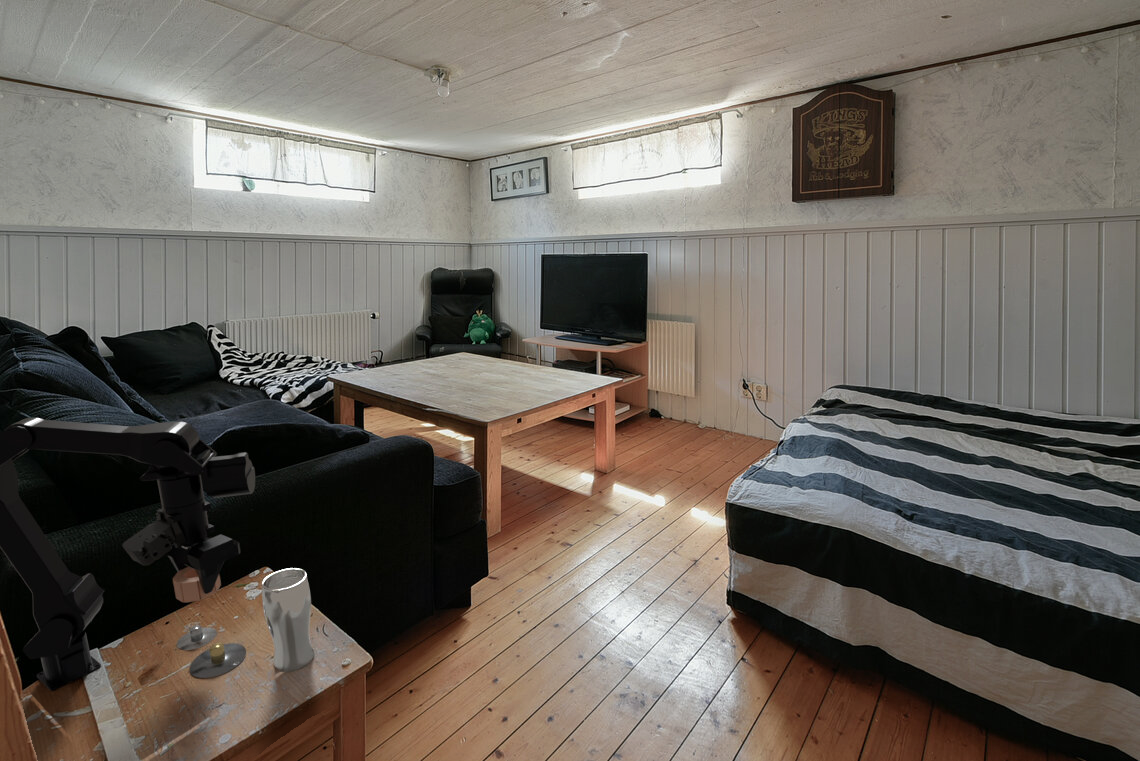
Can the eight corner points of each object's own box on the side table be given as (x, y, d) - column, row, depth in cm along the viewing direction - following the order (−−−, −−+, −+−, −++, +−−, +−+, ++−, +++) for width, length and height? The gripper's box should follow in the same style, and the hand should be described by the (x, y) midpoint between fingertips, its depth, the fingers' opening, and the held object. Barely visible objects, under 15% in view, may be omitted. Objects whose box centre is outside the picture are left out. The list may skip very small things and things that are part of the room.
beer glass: (299, 677, 91) (289, 593, 88) (261, 671, 93) (249, 588, 90) (325, 648, 98) (317, 569, 95) (289, 643, 99) (280, 565, 96)
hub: (180, 668, 94) (177, 652, 93) (230, 640, 100) (228, 625, 100) (206, 686, 89) (203, 670, 89) (256, 656, 96) (254, 641, 95)
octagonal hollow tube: (170, 595, 95) (166, 576, 94) (207, 577, 100) (204, 559, 99) (189, 606, 92) (186, 586, 91) (227, 587, 97) (224, 568, 96)
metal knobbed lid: (170, 644, 99) (168, 631, 99) (206, 625, 104) (204, 613, 104) (187, 656, 96) (185, 644, 96) (224, 636, 101) (222, 624, 101)
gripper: (97, 507, 90) (115, 595, 93) (157, 535, 81) (174, 632, 84) (173, 483, 99) (187, 564, 103) (235, 505, 90) (248, 593, 94)
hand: (197, 587), depth 96 cm, fingers closed on octagonal hollow tube, 6 cm apart
